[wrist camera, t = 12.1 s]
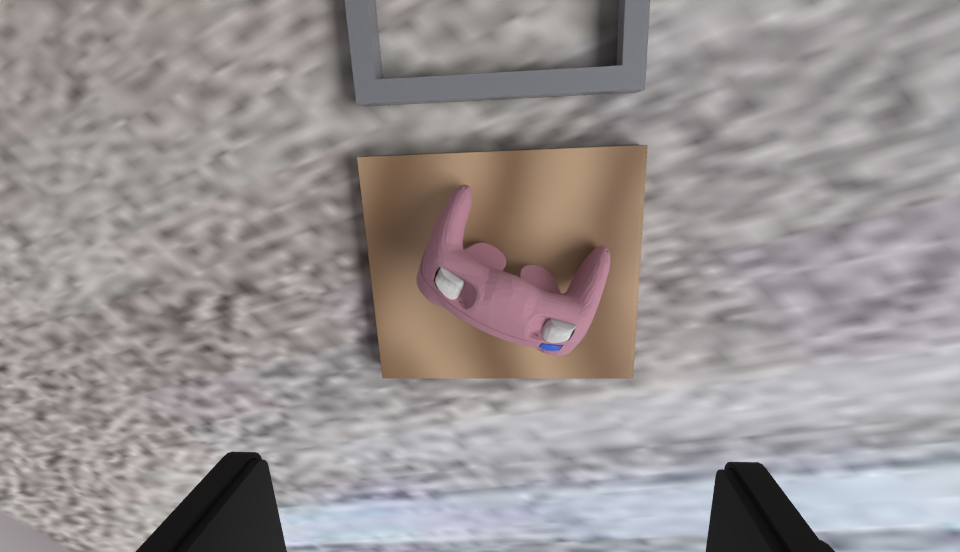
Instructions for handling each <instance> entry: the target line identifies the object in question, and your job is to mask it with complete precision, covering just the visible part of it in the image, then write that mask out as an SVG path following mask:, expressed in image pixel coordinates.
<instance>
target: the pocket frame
mask: <svg viewBox="0 0 960 552" xmlns="http://www.w3.org/2000/svg"><path fill="white" fill-rule="evenodd" d="M344 1H345V10H346V18H347V27H348V36H349V45H350V54H351V63H352V72H353V81H354V89H355V98H356V104H357V105H361V106H381V105H400V104H419V103H439V102H458V101H478V100H497V99H516V98H536V97H555V96H574V95H594V94H613V93H633V92H639V91H642V90H644V89H645V80H646V63H647V45H648V28H649V11H650V0H619V12H618V37H617V62H616V66H603V67H585V68H568V69H550V70H532V71H515V72H497V73H479V74H462V75H444V76H426V77H408V78H391V79H383V77H382V67H381V56H380V46H379V35H378V25H377V14H376V4H375V0H344Z"/></svg>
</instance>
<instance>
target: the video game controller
mask: <svg viewBox="0 0 960 552" xmlns="http://www.w3.org/2000/svg"><path fill="white" fill-rule="evenodd" d="M471 204H472V189H471V187H470V186H469V185H462V186H460V187H459V188H458V189H456V190H455V192H454V193H453V194H452V195H451V196H450V198H449V199H448V201H447V203H446V205H445V207H444V208H443V210H442V212H441V214H440V215H439V217H438V219H437V221H436V223H435V224H434V226H433V228H432V231H431V233H430V236H429V239H428V242H427V245H426V248H425V250H424V253H423V256H422V260H421V263H420V267H419V270H418V274H417V277H416V282H417V286H418V288H419V290H420V292H421V293H422V294H423V295H424V296H425V298H426V299H427V300H429V301H430V302H431V303H433V304H435V305H437V306H439V307H442V308H446V309H447V310H448V311H450V312H451V313H452V314H454V315H455V316H457V317H458V318H460V319H461V320H463V321H464V322H466V323H468V324H470V325H472V326H473V327H475V328H477V329H479V330H481V331H483V332H485V333H488V334H490V335H492V336H495V337H497V338H500V339H503V340H505V341H508V342H511V343H515V344H518V345H522V346H526V347H531V348H536V349H538V350H539V351H541V352H543V353H545V354H548V355H552V356H562V355H566V354H568V353H570V352H571V351H572V350H573V349H574V348H575V347H576V346H577V344H578V343H579V342H580V341H581V340H582V339H583V338H584V337H585V335H586V333H587V331H588V329H589V327H590V325H591V323H592V321H593V318H594V316H595V313H596V310H597V308H598V305H599V302H600V299H601V296H602V293H603V289H604V286H605V283H606V279H607V276H608V272H609V268H610V253H609V250H608V249H607V247H606V246H602V245H601V246H599V247H596V248H595V249H594V250H593V251H592V252H591V253H590V254H589V255H588V256H587V257H586V259H585V260H584V261H583V263H582V264H581V266H580V268H579V269H578V271H577V273H576V274H575V276H574V277H573V279H572V281H571V283H570V285H569V287H568V289H567V291H566V292H565V293H561V292H560V290H559V288H558V285H557V283H556V280H555V278H554V276H553V275H552V274H551V273H550V272H549V271H548V270H546V269H545V268H542V267H540V266H536V265H527V266H525V267H523V268H522V270H521V271H520V273H519V275H518V276H516V275H513V274H510V273H507V272H504V271H503V269H504V268H505V266H506V258H505V256H504V254H503V253H502V252H501V251H500V250H499V249H497V248H496V247H494V246H492V245H490V244H487V243H477V244H474V245H472V246H471V247H469V248H467V249H463V236H464V229H465V226H466V223H467V219H468V216H469V212H470V209H471Z"/></svg>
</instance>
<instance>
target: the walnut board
mask: <svg viewBox="0 0 960 552" xmlns="http://www.w3.org/2000/svg"><path fill="white" fill-rule="evenodd" d="M646 161H647V145H626V146H602V147H578V148H555V149H531V150H507V151H483V152H459V153H436V154H412V155H388V156H365V157H357V162H358V171H359V179H360V188H361V196H362V205H363V214H364V222H365V231H366V240H367V248H368V257H369V266H370V274H371V283H372V291H373V300H374V309H375V317H376V326H377V335H378V343H379V352H380V361H381V369H382V378H633V372H634V356H635V340H636V324H637V307H638V291H639V275H640V258H641V242H642V226H643V209H644V193H645V177H646ZM462 185H469V186H470V187H471V189H472V204H471V209H470V212H469V216H468V219H467V223H466V226H465V229H464V236H463V249H467V248H469V247H471V246H472V245H474V244H477V243H487V244H490V245H492V246H494V247H496V248H497V249H499V250H500V251H501V252H502V253H503V254H504V256H505V258H506V266H505V268H504V269H503V271H504V272H507V273H510V274H513V275H516V276H518V275H519V273H520V271H521V270H522V268H523V267H525V266H527V265H536V266H540V267H542V268H545V269H546V270H548V271H549V272H550V273H551V274H552V275H553V276H554V278H555V280H556V283H557V285H558V288H559V290H560V292H561V293H565V292H566V291H567V289H568V287H569V285H570V283H571V281H572V279H573V277H574V276H575V274H576V273H577V271H578V269H579V268H580V266H581V264H582V263H583V261H584V260H585V259H586V257H587V256H588V255H589V254H590V253H591V252H592V251H593V250H594V249H595V248H596V247H599V246H601V245H602V246H606V247H607V249H608V250H609V253H610V268H609V272H608V276H607V279H606V283H605V286H604V289H603V293H602V296H601V299H600V302H599V305H598V308H597V310H596V313H595V316H594V318H593V321H592V323H591V325H590V327H589V329H588V331H587V333H586V335H585V337H584V338H583V339H582V340H581V341H580V342H579V343H578V344H577V346H576V347H575V348H574V349H573V350H572V351H571V352H570V353H568V354H566V355H562V356H552V355H548V354H545V353H543V352H541V351H539V350H538V349H536V348H531V347H526V346H522V345H518V344H515V343H511V342H508V341H505V340H503V339H500V338H497V337H495V336H492V335H490V334H488V333H485V332H483V331H481V330H479V329H477V328H475V327H473V326H472V325H470V324H468V323H466V322H464V321H463V320H461V319H460V318H458V317H457V316H455V315H454V314H452V313H451V312H450V311H448V310H447V309H446V308H442V307H439V306H437V305H435V304H433V303H431V302H430V301H429V300H427V299H426V298H425V296H424V295H423V294H422V293H421V292H420V290H419V288H418V286H417V282H416V277H417V274H418V270H419V267H420V263H421V260H422V256H423V253H424V250H425V248H426V245H427V242H428V239H429V236H430V233H431V231H432V228H433V226H434V224H435V223H436V221H437V219H438V217H439V215H440V214H441V212H442V210H443V208H444V207H445V205H446V203H447V201H448V199H449V198H450V196H451V195H452V194H453V193H454V192H455V190H456V189H458V188H459V187H460V186H462Z"/></svg>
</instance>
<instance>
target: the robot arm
mask: <svg viewBox="0 0 960 552" xmlns="http://www.w3.org/2000/svg"><path fill="white" fill-rule="evenodd" d="M136 552H287V551H286V546H285V541H284V537H283V532H282V527H281V523H280V518H279V513H278V509H277V504H276V499H275V495H274V490H273V485H272V481H271V476H270V471H269V467H268V463H267V462H266V460H262V458H261V456H260V455H259V454H258V453H256V452H230V453H227V454H226V455H225V456H224V457H223V458H222V459H221V460H220V461H219V462H218V463H217V464H216V465H215V467H214V468H213V469H212V470H211V471H210V472H209V473H208V474H207V475H206V476H205V477H204V478H203V479H202V481H201V482H200V483H199V484H198V485H197V486H196V487H195V488H194V489H193V490H192V491H191V492H190V494H189V495H188V496H187V497H186V498H185V499H184V500H183V501H182V502H181V503H180V504H179V505H178V506H177V508H176V509H175V510H174V511H173V512H172V513H171V514H170V515H169V516H168V517H167V518H166V519H165V521H164V522H163V523H162V524H161V525H160V526H159V527H158V528H157V529H156V530H155V531H154V532H153V534H152V535H151V536H150V537H149V538H148V539H147V540H146V541H145V542H144V543H143V544H142V545H141V546H140V548H139V549H138V550H137V551H136ZM706 552H835V551H834V550H833V549H832V548H831V547H830V546H829V545H828V544H826V543H825V542H823V541H822V540H819V539H818V537H817V536H816V535H815V533H814V532H813V531H812V529H811V528H810V527H809V525H808V524H807V523H806V521H805V520H804V519H803V517H802V516H801V515H800V513H799V512H798V511H797V509H796V508H795V507H794V505H793V504H792V503H791V501H790V500H789V499H788V497H787V496H786V495H785V493H784V492H783V491H782V489H781V488H780V487H779V485H778V484H777V483H776V481H775V480H774V479H773V477H772V476H771V475H770V473H769V472H768V471H767V469H766V468H765V467H764V466H763V465H762V464H761V463H758V462H728V463H727V464H726V465H725V469H724V470H718V471H717V473H716V478H715V486H714V493H713V501H712V509H711V516H710V524H709V531H708V539H707V546H706Z"/></svg>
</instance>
